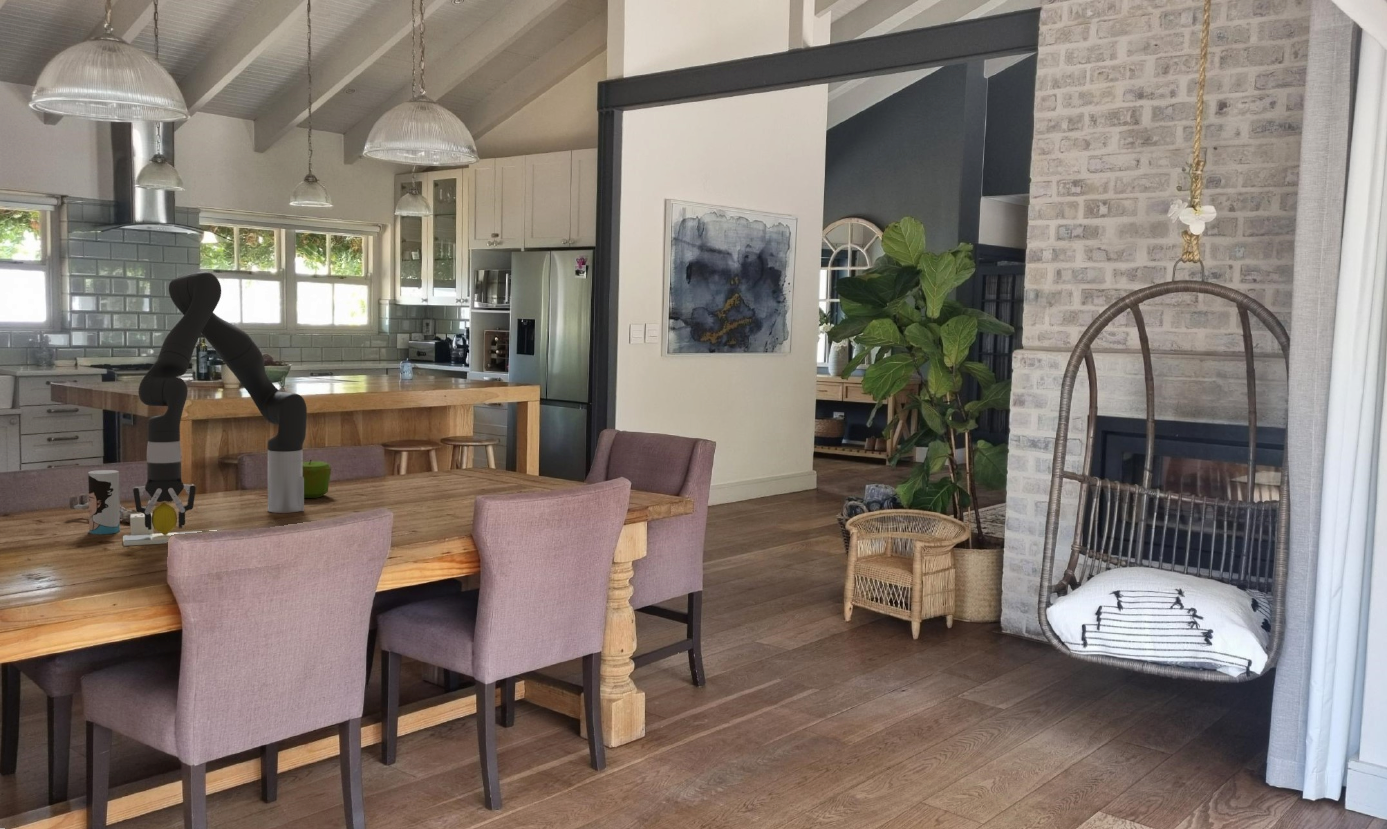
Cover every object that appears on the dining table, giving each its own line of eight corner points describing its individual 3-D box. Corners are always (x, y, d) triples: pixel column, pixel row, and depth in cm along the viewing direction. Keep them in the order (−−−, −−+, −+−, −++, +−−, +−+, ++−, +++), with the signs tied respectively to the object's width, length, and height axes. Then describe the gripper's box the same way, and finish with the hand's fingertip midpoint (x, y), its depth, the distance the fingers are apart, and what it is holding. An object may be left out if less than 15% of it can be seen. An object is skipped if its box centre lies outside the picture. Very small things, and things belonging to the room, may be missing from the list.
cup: (106, 527, 287) (105, 469, 285) (125, 530, 284) (125, 471, 283) (83, 532, 280) (81, 472, 279) (103, 535, 278) (102, 474, 277)
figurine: (85, 491, 301) (147, 505, 296) (84, 512, 302) (146, 526, 297) (67, 495, 295) (130, 509, 290) (65, 516, 296) (128, 531, 291)
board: (230, 533, 284) (230, 529, 284) (232, 539, 278) (232, 534, 278) (123, 540, 273) (123, 535, 273) (123, 545, 267) (123, 540, 267)
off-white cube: (153, 532, 283) (153, 512, 283) (153, 536, 279) (153, 515, 278) (130, 533, 281) (130, 513, 281) (129, 537, 276) (129, 516, 276)
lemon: (157, 533, 277) (155, 501, 276) (181, 532, 277) (179, 500, 276) (148, 537, 271) (147, 504, 270) (172, 536, 272) (171, 503, 271)
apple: (300, 492, 349) (300, 456, 348) (338, 494, 347) (338, 458, 346) (280, 498, 337) (280, 461, 336) (319, 501, 335) (319, 463, 334)
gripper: (195, 456, 279) (196, 523, 281) (130, 458, 272) (131, 527, 274) (197, 460, 272) (198, 529, 274) (131, 462, 266) (132, 533, 267)
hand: (165, 528), depth 274 cm, fingers open, 6 cm apart
